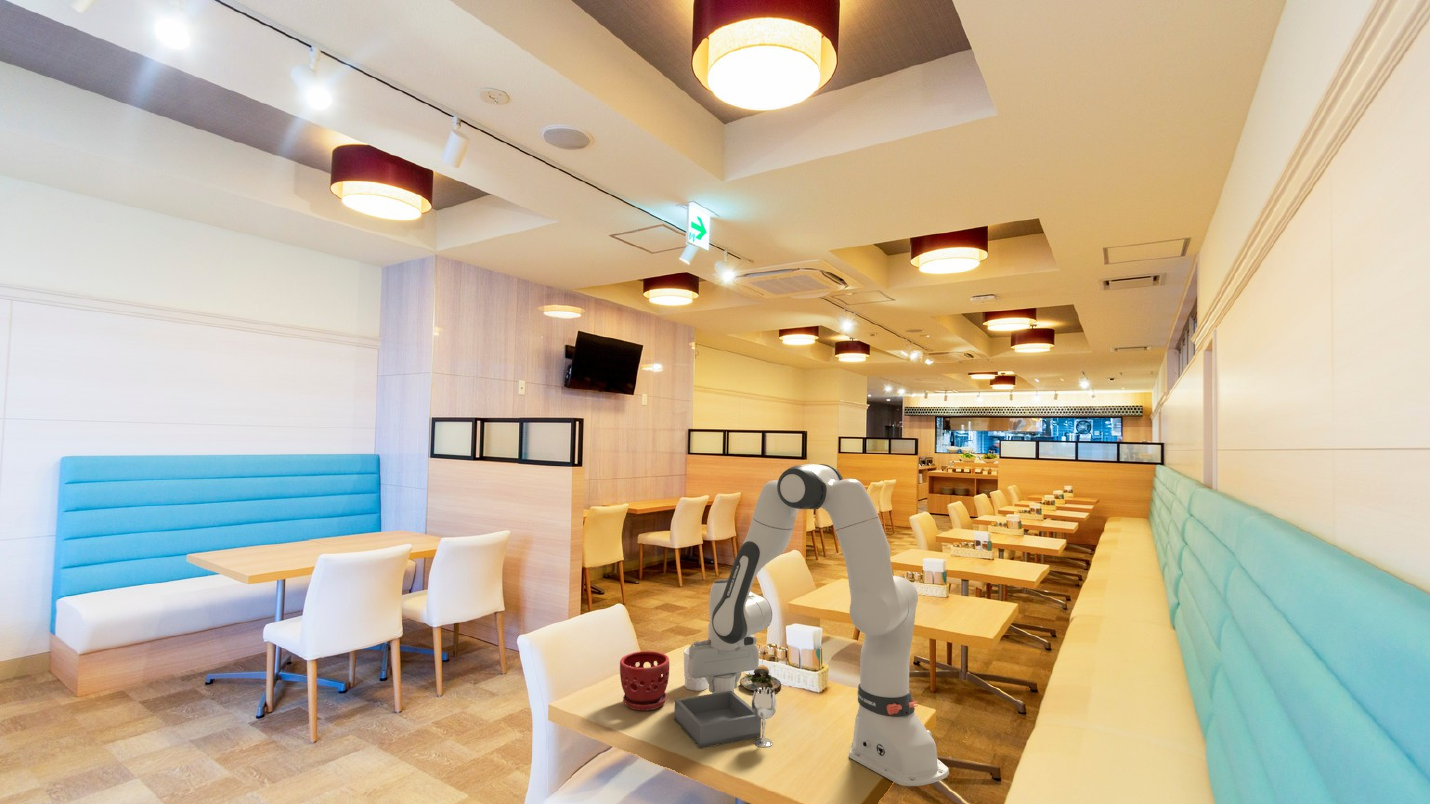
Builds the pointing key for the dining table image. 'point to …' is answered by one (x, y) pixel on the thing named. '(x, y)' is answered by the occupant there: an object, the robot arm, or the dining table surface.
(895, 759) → the robot arm
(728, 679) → the small tapered cup
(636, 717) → the dining table surface
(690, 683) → the white cup
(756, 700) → the wineglass
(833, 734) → the dining table surface
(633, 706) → the plant pot
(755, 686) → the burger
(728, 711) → the bin
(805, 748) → the dining table surface
